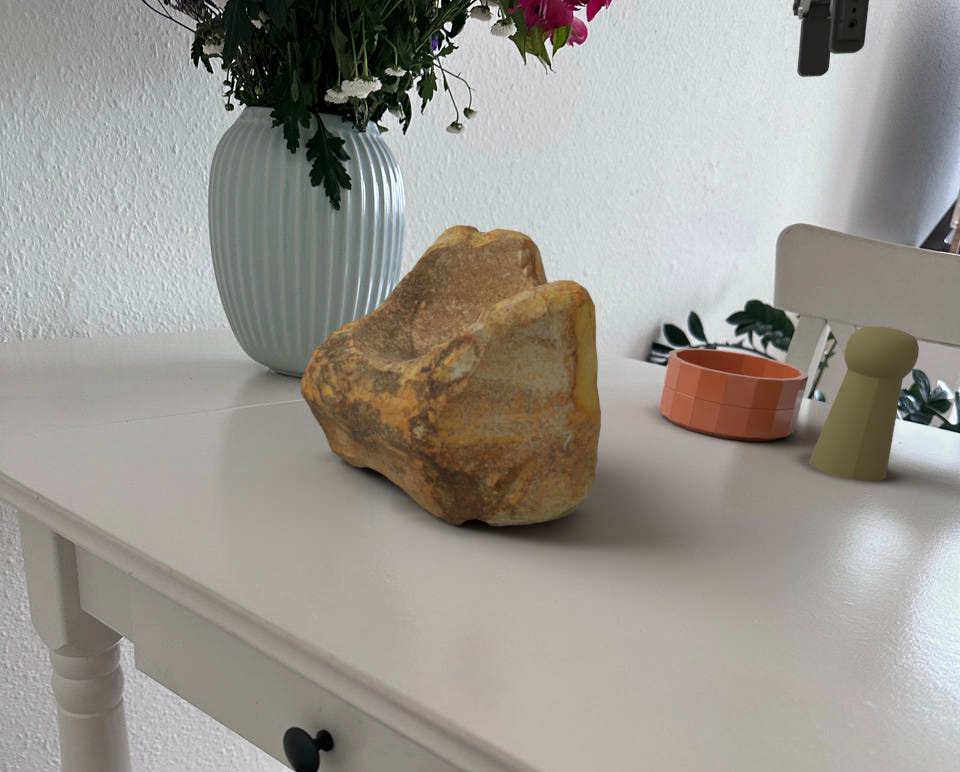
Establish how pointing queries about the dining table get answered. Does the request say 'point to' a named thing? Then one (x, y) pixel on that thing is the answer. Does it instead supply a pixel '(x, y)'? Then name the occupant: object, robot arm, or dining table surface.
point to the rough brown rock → (469, 384)
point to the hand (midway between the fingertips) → (828, 64)
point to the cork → (866, 405)
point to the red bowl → (732, 394)
